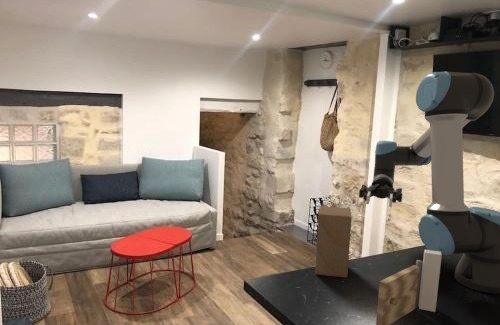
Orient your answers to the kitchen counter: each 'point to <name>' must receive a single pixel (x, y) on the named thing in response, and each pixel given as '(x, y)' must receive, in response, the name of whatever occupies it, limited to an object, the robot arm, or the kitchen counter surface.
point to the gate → (397, 295)
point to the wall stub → (428, 280)
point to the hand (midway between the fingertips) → (379, 201)
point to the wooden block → (333, 241)
